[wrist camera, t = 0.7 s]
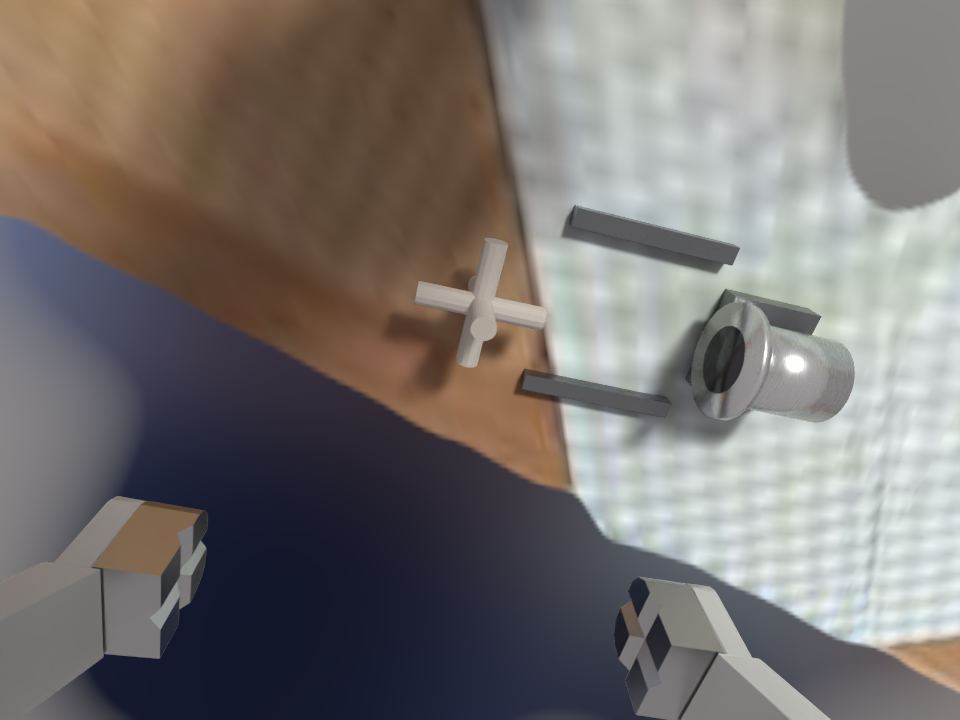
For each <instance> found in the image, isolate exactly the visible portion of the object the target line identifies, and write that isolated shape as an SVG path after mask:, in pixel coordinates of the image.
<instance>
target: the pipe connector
mask: <svg viewBox="0 0 960 720" xmlns="http://www.w3.org/2000/svg"><path fill="white" fill-rule="evenodd" d="M508 245H509V244H508V243H506V242H504V241H502V240H498V239H494V238H485V239H484V243H483V248H482V252H481V256H480V260H479V264H478V268H477V272H476V275H475V276H473V277H471V278H470V280H469V281H468V291H465V290H460V289H455V288H451V287H446V286H441V285H437V284H432V283H428V282H423V281H419V283H418V288H417V293H416V298H415V303H414V304H417V305H422V306H427V307H432V308H436V309H441V310H446V311H451V312H455V313H460V314H465V315H466V318H465V322H464V326H463V330H462V334H461V339H460V343H459V347H458V351H457V355H456V359H455V360H456V362H457V363H458V364H460V365H461V366H465V367H476V366H477V364H478V360H479V356H480V352H481V348H482V345H483V341H488V340H490V339H492V338H493V337H494V336H495V334H496V332H497V326H496V321H498V322H503V323H508V324H513V325H517V326H522V327H527V328H532V329H537V330H542V328H543V326H544V324H545V320H546V313H547V311H546V308H544V307H539V306H534V305H530V304H525V303H520V302H516V301H511V300H506V299H502V298H497V297H495V295H496V291H497V287H498V283H499V279H500V275H501V272H502V268H503V264H504V260H505V256H506V252H507V249H508Z"/></svg>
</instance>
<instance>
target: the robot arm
mask: <svg viewBox="0 0 960 720" xmlns="http://www.w3.org/2000/svg"><path fill="white" fill-rule="evenodd" d="M207 525H208V514H207V513H206V512H205V511H203V510H197V509H192V508H186V507H180V506H174V505H168V504H163V503H158V502H152V501H142V500H137V499H131V498H126V497H120V496H117V497H115V498H113V499H111V500H109V501H108V502H107V503H106V504H105V505H104V506H103V508H102V509H101V510H100V511H99V512H98V513H97V514H96V516H95V517H94V518H93V519H92V520H91V521H90V522H89V523H88V524H87V526H86V527H85V528H84V529H83V530H82V531H81V532H80V533H79V535H78V536H77V537H76V538H75V539H74V541H72V543H71V544H70V545H69V546H68V547H67V548H66V549H65V550H64V551H63V553H62V554H61V555H60V556H59V557H58V558H57V559H56V561H55V562H54V563H50V562H42V563H40V564H37V565H35V566H33V567H31V568H29V569H26V570H24V571H22V572H20V573H17V574H15V575H13V576H11V577H8V578H6V579H4V580H2V581H0V720H19V719H20V718H22V717H23V716H25V715H26V714H27V713H29V712H30V711H31V710H33V709H34V708H35V707H37V706H38V705H39V704H41V703H42V702H43V701H45V700H46V699H48V698H49V697H50V696H52V695H53V694H54V693H56V692H57V691H58V690H60V689H61V688H62V687H64V686H65V685H66V684H68V683H69V682H70V681H72V680H73V679H75V678H76V677H77V676H79V675H80V674H81V673H83V672H84V671H85V670H87V669H88V668H89V667H91V666H92V665H94V664H95V663H96V662H98V661H99V660H100V659H102V658H103V655H104V654H112V655H123V656H134V657H146V658H157V659H160V657H161V656H162V654H163V652H164V650H165V648H166V646H167V644H168V642H169V641H170V639H171V637H172V635H173V633H174V632H175V630H176V628H177V626H178V622H179V609H181V608H182V607H184V606H185V605H187V604H188V603H190V602H191V600H192V597H193V596H194V594H195V592H196V590H197V588H198V585H199V582H200V579H201V576H202V573H203V569H204V565H205V560H206V547H205V546H204V544H203V543H202V542H201V539H202V537H203V536H204V534H205V532H206V530H207V527H208V526H207ZM628 592H629V595H630V598H631V601H630V602H629V603H627V604H626V605H624V606H622V607H621V608H620V610H619V613H618V615H617V618H616V620H615V630H614V640H615V648H616V651H617V654H618V658H619V660H620V661H621V662H622V663H623V664H624V665H625V666H626V667H627V668H628V670H629V673H628V676H627V678H626V680H625V681H626V685H627V688H628V691H629V694H630V698H631V701H632V704H633V707H634V710H635V714H636V715H641V716H647V717H654V718H661V719H668V720H830V719H829V718H828V717H827V716H826V715H824V714H823V713H822V712H821V711H820V710H818V708H816V707H815V706H814V705H813V704H812V703H811V702H809V701H808V700H807V699H806V698H805V697H804V696H802V695H801V694H800V693H799V692H798V691H797V690H795V689H794V688H793V687H792V686H791V685H790V684H788V683H787V682H786V681H784V679H782V678H781V677H780V676H779V675H778V674H777V673H775V672H774V671H773V670H772V669H771V668H770V667H768V666H767V665H766V664H765V663H764V662H762V661H761V660H760V659H757V658H752V657H751V655H750V653H749V651H748V649H747V648H746V646H745V644H744V642H743V640H742V639H741V637H740V635H739V633H738V631H737V629H736V628H735V626H734V624H733V622H732V620H731V619H730V617H729V615H728V613H727V611H726V609H725V608H724V606H723V604H722V602H721V600H720V599H719V597H718V595H717V593H716V592H715V591H714V590H713V589H712V588H711V587H709V586H702V585H694V584H687V583H686V584H683V583H677V582H671V581H664V580H657V579H649V578H643V577H637V578H636V579H635V580H634V581H633V582H632V584H631V586H630V588H629V590H628Z"/></svg>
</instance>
